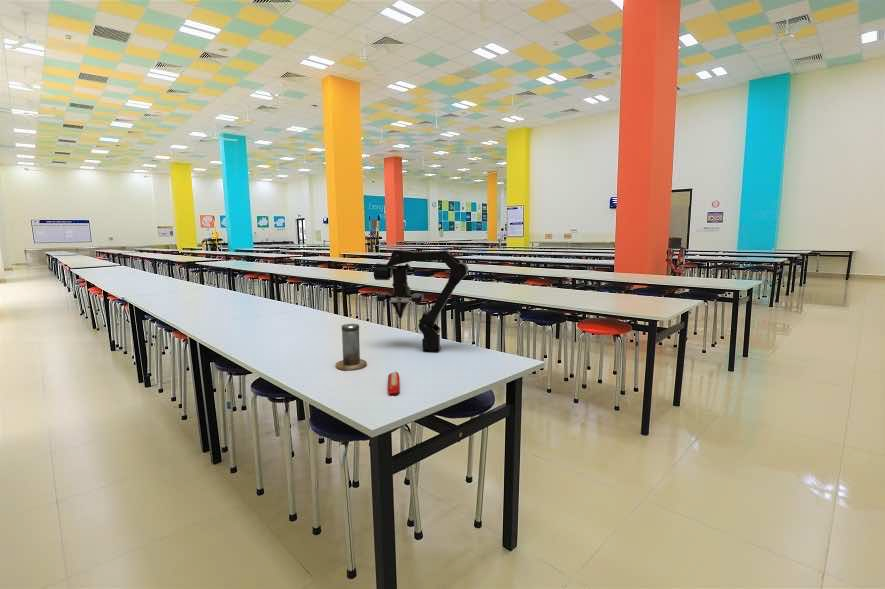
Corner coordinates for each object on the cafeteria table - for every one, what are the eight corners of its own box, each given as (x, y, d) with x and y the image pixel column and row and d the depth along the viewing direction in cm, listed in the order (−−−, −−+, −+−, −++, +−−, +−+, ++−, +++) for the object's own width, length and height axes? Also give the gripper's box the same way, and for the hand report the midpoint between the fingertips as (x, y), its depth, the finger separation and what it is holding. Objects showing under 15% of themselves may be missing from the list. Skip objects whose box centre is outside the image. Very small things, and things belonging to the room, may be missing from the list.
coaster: (370, 362, 160) (370, 359, 160) (360, 371, 149) (360, 368, 149) (343, 360, 162) (342, 358, 161) (330, 369, 151) (330, 367, 151)
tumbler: (363, 361, 157) (362, 324, 155) (352, 366, 151) (351, 327, 149) (350, 359, 159) (349, 322, 157) (339, 364, 154) (337, 326, 152)
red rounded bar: (388, 378, 142) (388, 370, 142) (399, 378, 143) (399, 369, 142) (387, 397, 127) (387, 387, 126) (399, 396, 127) (399, 387, 126)
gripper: (426, 278, 180) (426, 315, 182) (383, 278, 183) (384, 313, 185) (420, 281, 169) (421, 320, 171) (375, 280, 172) (376, 318, 174)
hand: (400, 318), depth 176 cm, fingers closed
